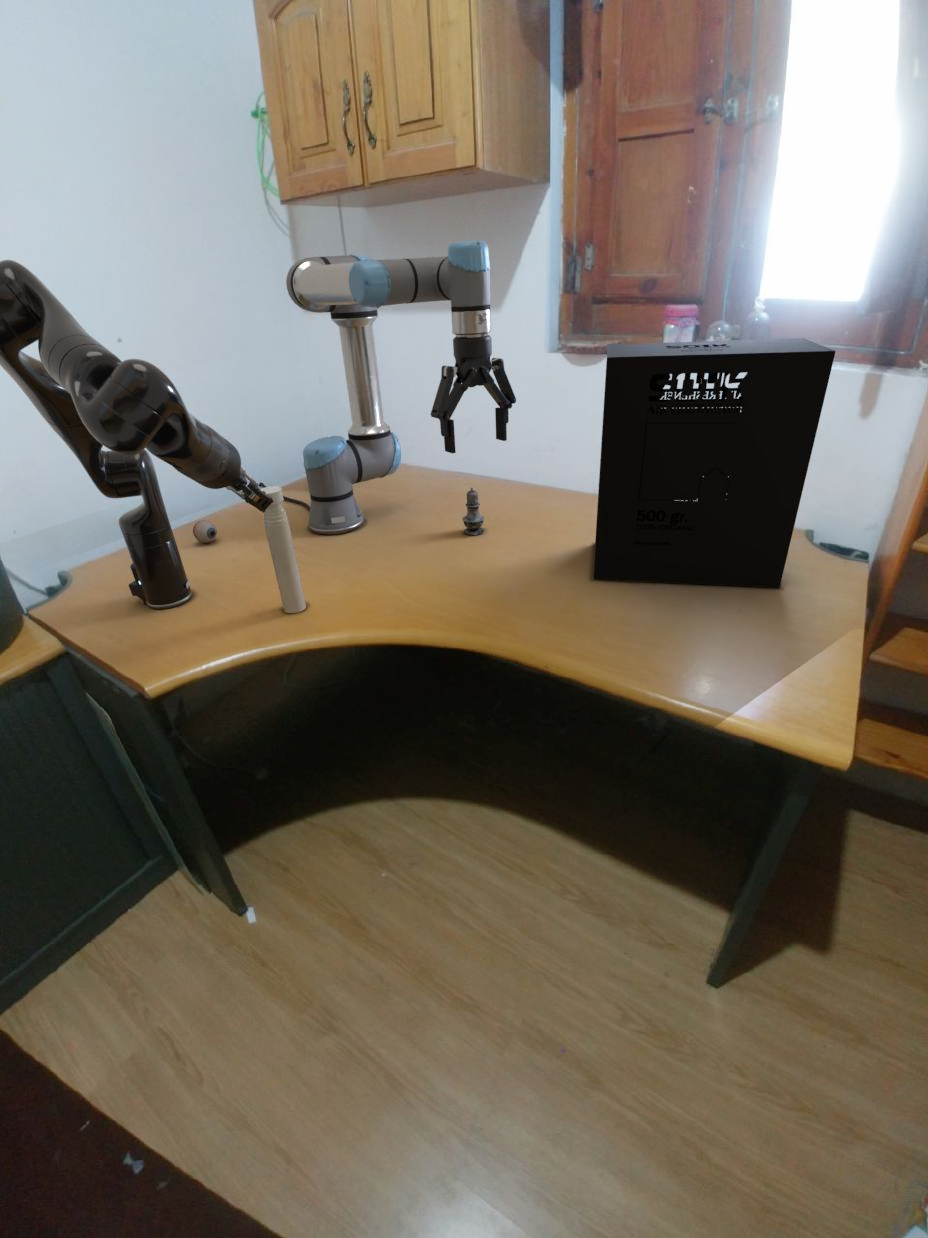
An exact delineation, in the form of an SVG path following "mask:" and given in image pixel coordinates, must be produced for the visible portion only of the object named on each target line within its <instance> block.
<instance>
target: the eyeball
mask: <svg viewBox="0 0 928 1238" xmlns="http://www.w3.org/2000/svg"><path fill="white" fill-rule="evenodd" d="M192 535H193V537H194V538H195V540H197V541H198V542H201V543H204V544H205V543H206V544H207V543H211V542H213V541H214V540H215V539H216V538H217V535H218V529H217V527H216V524H214V523H213V522H212V521H210V520H207V519H204V520H203V519H202V520H199V521H197V522H195V524H194V525H193V527H192Z"/></svg>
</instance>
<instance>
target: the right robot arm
mask: <svg viewBox="0 0 928 1238" xmlns="http://www.w3.org/2000/svg"><path fill="white" fill-rule="evenodd" d="M490 263H491V262H490V252H489V245H488V244H487V242H485V241H484V240H466V241H455V242H451V243H450V244H449V245H448V247H447V256H431V257H430V256H427V257H413V258H411V257H410V258H391V259H390V258H386V259H374V258H370V257H369V256H367V255H358V254H349V255H328V256H326V255H325V256H310V257H305V258H302V259H300V260H298V261H296V262H295V263H293V265H291V267H290V268H289V269H288V272H287V275H286V281H285V282H286V283H285V284H286V285H285V286H286V290H287V293H288V296H289V297H290V299H291V300H292V303H294V304H295V305H296V306H298V307H299V308H300V309H302V310H304V311H306V312H310V313H318V314H319V313H320V314H321V313H330V320H331V321H332V322H333V323H334V324H335V325H336V326H337V327H338V332H339V333H338V334H339V339H340V347H341V355H342V361H343V369H344V375H345V382H346V383H345V384H346V389H347V396H348V404H349V410H350V418H351V425H350V426H349V428H348V430H347V436H348V439H345V437H343V436H341V435H332V436H324V437H321V438H318V439H315V440H312V441H311V442H309V443H308V444H306V445H305V446H304V448H303V450H302V457H303V459H302V460H303V467H304V471H305V476H306V481H307V486H308V492H309V498H310V505H309V504H308V503H306V502H304V501H302V500H298V499H295V498H291V497H288V496H284V495H283V498H284V501H288V502H292V503H297V504H300V505H302V506H304V507H305V508H306V509H307V510H308V511H309V513H308V528H309V529H308V530H310V531H311V532H312V533H314V534H317V535H323V536H324V535H325V536H327V535H329V536H331V535H339V534H340V535H341V534H345V533H350V532H353V531H355V530H357V529H359V528H361V527H362V526H363V525H364V523H365V519H364V514H363V512H362V510H361V508H360V505H359V504H358V501H357V500H356V498H355V495H354V489H353V485H354V484H355V485H356V484H359V483H363V482H368V481H371V480H375V479H381V478H385V477H387V476H390V475H392V474H394V473H396V472H397V470H398V469H399V467H400V465H401V462H402V446H401V443H400V441H399V437H398V436H397V435H396V434H395V432H394V431H391V426H390V425H388V423H386V422H385V420H384V419H385V418H384V410H383V402H382V393H381V385H380V377H379V368H378V367H379V366H378V358H377V349H376V341H375V331H374V324H375V322H376V320H377V319H378V317H379V314H378V309H379V308H381V307H385V306H394V305H403V304H405V305H406V304H417V303H419V304H420V303H427V302H428V303H429V302H444V301H448V302H449V301H450V311H451V313H450V314H451V315H450V316H451V334H453V335H454V337H453V339H452V350H453V358H454V359H455V363H454V366H452V365H442V366H441V373H440V374H441V375H440V376H441V377H440V381H439V384H438V388H437V390H436V395H435V398H434V401H433V404H432V407H431V411H430V416H431V418H435V419H438V421H439V426H440V435H441V437H443V441H444V442H443V443H444V452H446V453H450V454H456V433H455V420H454V419H451V418H452V416H453V414H454V413H455V410H456V409H457V406H458V404H459V402H460V401H461V399H462V397H463V396H464V393H465V392H466V391H468V389H469V388H474V387H477V386H478V387H482V386H483V387H484V389H485V390H486V391H487V392H488V394H489V396H491V398H492V399H493V401H494V402H495V403H496V405H497V406H498V407H495V408H494V410H495V411H494V413H495V414H494V415H495V439H496V440H499V441H502V442H507V441H508V438H507V435H508V433H507V424H509V410H510V409H512V407H513V404H516V403H517V398H516V394H515V393H514V390H513V388H512V385H511V383H510V380H509V378H508V375H507V373H506V370H505V363H504V362H505V361H504V359H503V358H499V357H493V358H491V356H492V354H493V346H492V344H493V343H492V340H493V339H492V336H491V335H489V333H491V332H492V315H491V314H492V312H491V311H492V309H491V264H490ZM491 370H492V374H493V376H494V378H493V376H492V375H491ZM455 377H456V378H455ZM454 378H455V380H454ZM495 381H496V383H497V384H496V383H495ZM258 487H261V488H265V487H267V486H266V485H265V484H264V483H263V482H259V483H258Z"/></svg>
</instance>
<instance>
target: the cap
mask: <svg viewBox="0 0 928 1238" xmlns="http://www.w3.org/2000/svg"><path fill="white" fill-rule="evenodd" d="M260 489H261V490H262V491H265V492H266V494H267V495H269V496H270V497H271V498H272V500H273V501H274V502H273V503H271V505H274V504H278V503H280V502H281V503H282V502H284V501H285V499H284V498H283V496H284V495H283V490H282V487H281V486H277V485H273V486H266V487H265V488H263V487H261V488H260Z"/></svg>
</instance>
